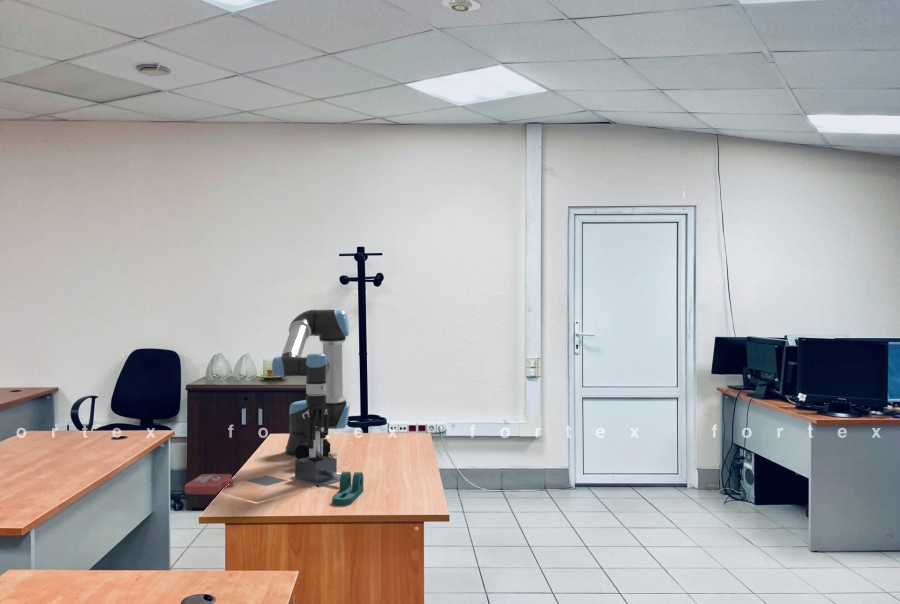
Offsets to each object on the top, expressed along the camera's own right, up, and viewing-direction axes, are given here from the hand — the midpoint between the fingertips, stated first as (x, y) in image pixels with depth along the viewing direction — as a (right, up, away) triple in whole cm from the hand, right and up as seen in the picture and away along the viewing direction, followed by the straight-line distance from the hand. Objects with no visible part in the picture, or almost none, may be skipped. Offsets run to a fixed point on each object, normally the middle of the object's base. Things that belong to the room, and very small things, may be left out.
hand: (316, 455), depth 267 cm
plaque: (-36, -10, -11) cm, 39 cm away
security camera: (-5, -10, +24) cm, 27 cm away
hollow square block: (+3, -9, -2) cm, 10 cm away
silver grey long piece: (0, -3, 0) cm, 3 cm away
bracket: (+15, -10, -24) cm, 30 cm away
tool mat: (-18, -9, -3) cm, 21 cm away
